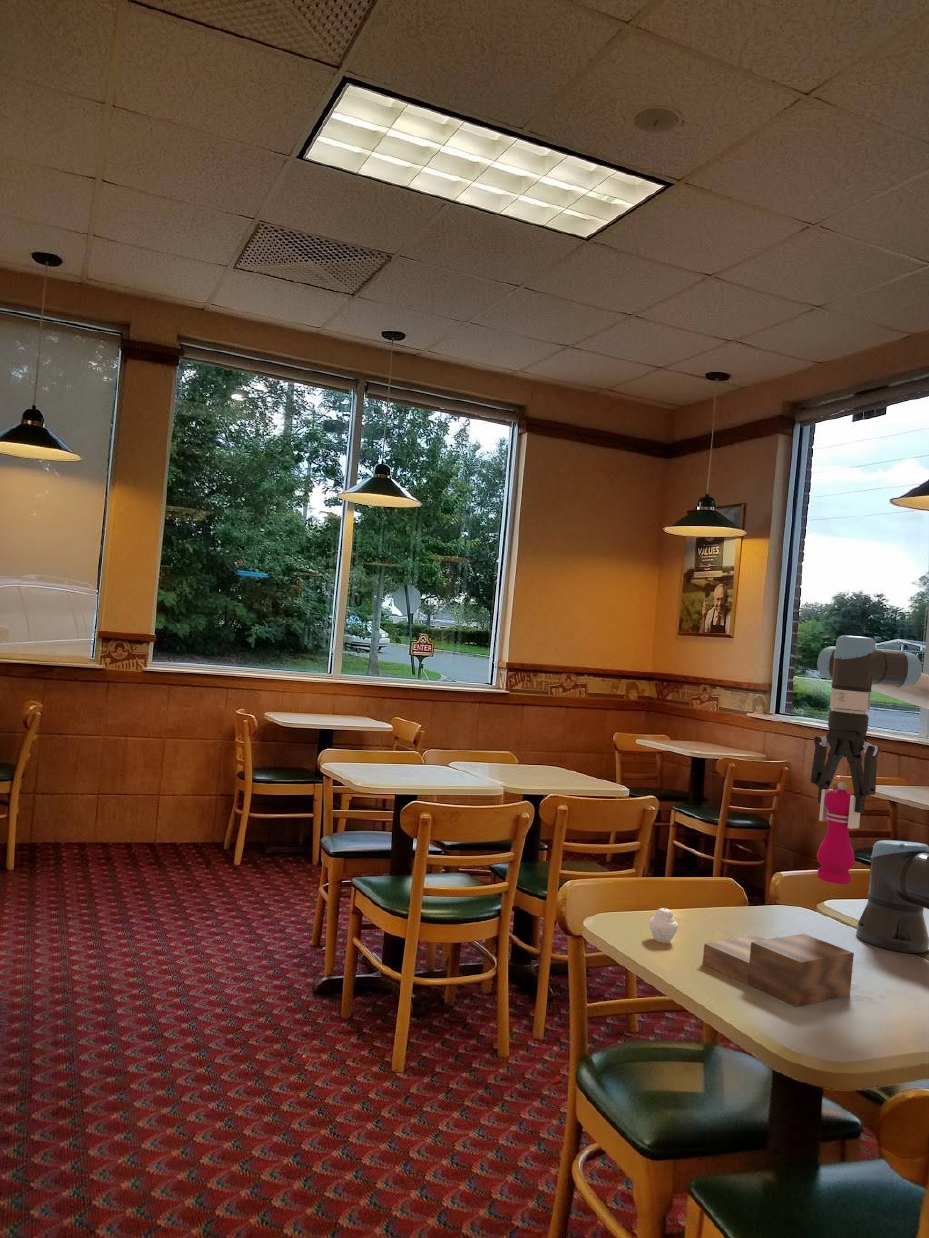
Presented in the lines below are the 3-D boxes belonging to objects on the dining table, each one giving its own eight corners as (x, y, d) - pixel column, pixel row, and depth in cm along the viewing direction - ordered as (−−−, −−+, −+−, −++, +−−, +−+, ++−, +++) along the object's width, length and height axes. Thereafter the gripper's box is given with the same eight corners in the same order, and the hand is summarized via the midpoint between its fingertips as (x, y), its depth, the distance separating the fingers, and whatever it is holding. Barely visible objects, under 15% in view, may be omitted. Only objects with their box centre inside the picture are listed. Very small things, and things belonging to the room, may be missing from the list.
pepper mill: (856, 886, 183) (865, 786, 183) (818, 881, 184) (827, 782, 185) (848, 878, 190) (857, 781, 190) (811, 872, 191) (820, 777, 192)
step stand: (754, 954, 192) (758, 916, 192) (849, 995, 173) (853, 952, 173) (702, 963, 183) (706, 923, 183) (796, 1007, 164) (801, 962, 164)
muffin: (682, 944, 193) (686, 911, 194) (661, 947, 190) (664, 913, 190) (662, 934, 199) (665, 902, 199) (641, 937, 196) (644, 904, 196)
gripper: (798, 705, 193) (788, 814, 193) (881, 716, 178) (870, 836, 177) (820, 706, 198) (810, 813, 197) (903, 718, 182) (892, 834, 182)
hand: (838, 824), depth 187 cm, fingers closed on pepper mill, 6 cm apart
